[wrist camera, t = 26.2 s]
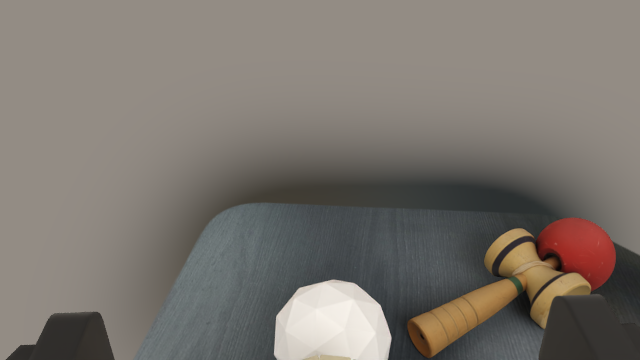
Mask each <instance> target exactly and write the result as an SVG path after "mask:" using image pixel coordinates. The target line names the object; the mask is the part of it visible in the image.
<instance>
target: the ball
mask: <svg viewBox="0 0 640 360" xmlns="http://www.w3.org/2000/svg"><path fill="white" fill-rule="evenodd" d="M390 344H391V335H390V332H389V328H388V325H387V322H386V319H385V317H384V314H383V311H382V309H381V306H380V305H379V304H378V303H377V302H376V301H375V300H374V299H373V298H372V297H370V296H369V295H368V294H367V293H366V292H365V291H364V290H362V289H361V288H360V287H359V286H357V285H356V284H355V283H350V282H344V281H339V280H329V281H325V282H321V283H317V284H313V285H309V286H305V287H301V288H299V289H298V290H297V291H296V293H295V294H294V295H293V296H292V298H291V299H290V300H289V301H288V302H287V304H286V305H285V306H284V307H283V309H282V310H281V311H280V312H279V314H278V315H277V316H276V330H275V346H274V355H275V357H276V359H277V360H302V359H306V358H309V357H312V356H315V355H318V357H319V359H320V356H321V355H331V356H341V357H350V358H351V360H353V359H355V360H388V355H389V349H390Z"/></svg>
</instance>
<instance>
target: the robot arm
mask: <svg viewBox="0 0 640 360" xmlns="http://www.w3.org/2000/svg"><path fill="white" fill-rule="evenodd" d="M6 360H115V359H114V356H113V353H112V349H111V346H110V343H109V339H108V335H107V332H106V328H105V325H104V322H103V319H102V316H101V315H100V313H98V312H80V313H55V314H53V315H51V316H50V318H49V319H48V321H47V323H46V325H45V327H44V329H43V331H42V333H41V335H40V337H39V339H38V341H37V343H36V345H20V346H19V347H18V348H17V349H16V350H15V351H14V352H13V353H12V354H11V355H10V356H9V357H8V358H7V359H6ZM539 360H640V327H639V326H638V325H636V324H635V323H627V324H621V323H620V321H619V320H618V318H617V317H616V315H615V313H614V312H613V310H612V308H611V307H610V305H609V304H608V302H607V301H606V299H605V298H604V297H603V296H601V295H599V294H592V295H566V296H556V297H554V298H553V300H552V303H551V306H550V310H549V315H548V319H547V323H546V327H545V331H544V336H543V340H542V344H541V348H540V353H539Z"/></svg>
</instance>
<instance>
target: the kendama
mask: <svg viewBox="0 0 640 360" xmlns="http://www.w3.org/2000/svg"><path fill="white" fill-rule="evenodd" d="M615 261H616V253H615V248H614V245H613V243H612V241H611V239H610V237H609V236H608V234H607V233H606V232H605V231H604V230H603V229H602V228H601V227H599V226H598V225H596V224H595V223H593V222H591V221H588V220H585V219H581V218H565V219H561V220H558V221H555V222H553V223H551V224H550V225H548V226H547V227H546V228H545V229H544V230H543V231H542V232H541V233H540V235H539V236H538V238H537V240H536V242H535V238H534V237H533V236H532V235H531V234H530V233H528V232H527V231H526V230H524V229H513V230H510V231H508V232H506V233H504V234H503V235H501V236H500V237H499V238H498V239H497V240H496V241H495V242H494V243H493V244H492V245H491V246H490V248H489V249H488V251H487V253H486V255H485V259H484V264H485V267H486V268H487V269H488V270H489V271H490V273H491V274H492V275H494V276H498V277H508V278H506V279H503V280H500V281H498V282H495V283H492V284H489V285H487V286H484V287H482V288H479V289H477V290H474V291H472V292H470V293H468V294H465V295H463V296H461V297H460V298H457V299H455V300H453V301H451V302H449V303H446V304H444V305H442V306H440V307H438V308H435V309H433V310H431V311H429V312H426V313H424V314H421V315H419V316H417V317H414V318H412V319H410V320H409V321H408V325H407V327H408V332H409V335H410V338H411V340H412V342H413V343H414V345H415V347H416V348H417V349H418V351H419V352H420V353H421V354H422V355H424V356H425V357H427V358H431V357H433V356H434V355H436V354H437V353H438V352H440V351H441V350H443V349H444V348H445V347H446V346H448V345H450V344H451V343H453V342H454V341H455V340H456V339H458V338H460V337H461V336H463V335H464V334H466V333H467V332H469V331H470V330H472V329H473V328H475V327H476V326H478V325H479V324H481V323H482V322H484V321H485V320H487V319H488V318H490V317H491V316H493V315H494V314H496V313H497V312H498V311H499V310H501V309H502V308H503V307H505V306H506V305H507V304H508V303H509V302H511V301H512V300H513V299H514V298H516V297H517V296H518V295H519V294H521V293H522V292H523V291H524V290H525V291H526V292H527V294H528V296H529V299H530V304H531V312H530V315H531V318H532V319H533V320H534V321H535V322H536V323H537V324H538V325H539V326H540V327H541V328H543V329H545V327H546V323H547V319H548V315H549V310H550V306H551V303H552V300H553V298H554V297H556V296H566V295H590V292H591V291H593V290H595V289H597V288H598V287H600V286H601V285H603V284H604V283H605V282H606V281H607V280H608V278H609V277H610V275H611V274H612V272H613V269H614V266H615Z"/></svg>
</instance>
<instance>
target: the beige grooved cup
mask: <svg viewBox="0 0 640 360" xmlns="http://www.w3.org/2000/svg"><path fill="white" fill-rule="evenodd" d="M302 360H351V358H350V357H341V356H331V355H321V356H320V359H319V357H318V355H315V356H312V357H309V358H306V359H302ZM353 360H355V359H353Z"/></svg>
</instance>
